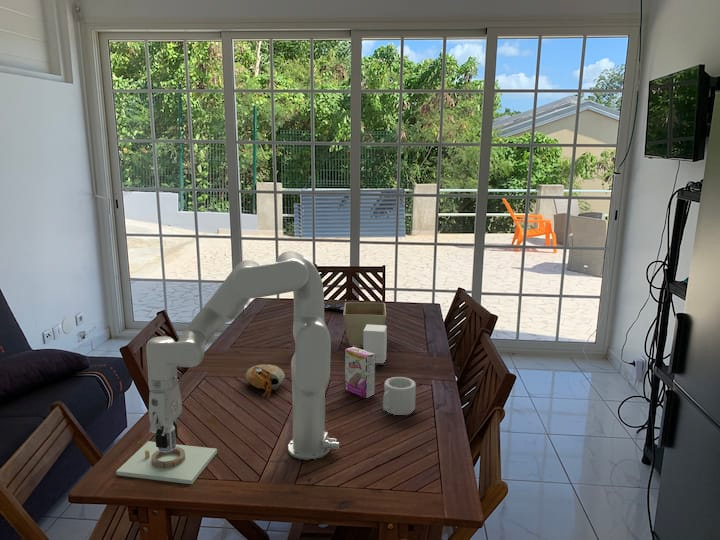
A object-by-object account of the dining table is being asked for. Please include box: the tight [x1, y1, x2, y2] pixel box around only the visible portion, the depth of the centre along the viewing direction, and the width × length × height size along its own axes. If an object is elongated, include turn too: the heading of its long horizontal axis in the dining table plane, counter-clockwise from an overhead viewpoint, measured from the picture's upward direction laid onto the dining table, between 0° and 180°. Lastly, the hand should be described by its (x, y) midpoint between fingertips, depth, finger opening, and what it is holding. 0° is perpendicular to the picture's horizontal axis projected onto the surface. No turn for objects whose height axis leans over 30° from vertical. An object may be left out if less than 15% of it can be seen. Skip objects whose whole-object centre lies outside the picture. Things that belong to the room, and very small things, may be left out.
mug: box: [382, 376, 417, 416], centre depth 188 cm, size 14×11×10 cm
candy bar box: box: [344, 346, 376, 399], centre depth 201 cm, size 11×5×16 cm, turn 47°
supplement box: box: [362, 324, 388, 363], centre depth 231 cm, size 9×9×15 cm
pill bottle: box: [158, 421, 177, 452], centre depth 154 cm, size 5×5×8 cm
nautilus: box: [244, 363, 286, 399], centre depth 204 cm, size 8×22×15 cm
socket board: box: [116, 440, 218, 485], centre depth 156 cm, size 22×16×3 cm
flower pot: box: [342, 301, 387, 346], centre depth 253 cm, size 19×19×17 cm
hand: (167, 441), depth 155 cm, fingers closed on pill bottle, 4 cm apart
